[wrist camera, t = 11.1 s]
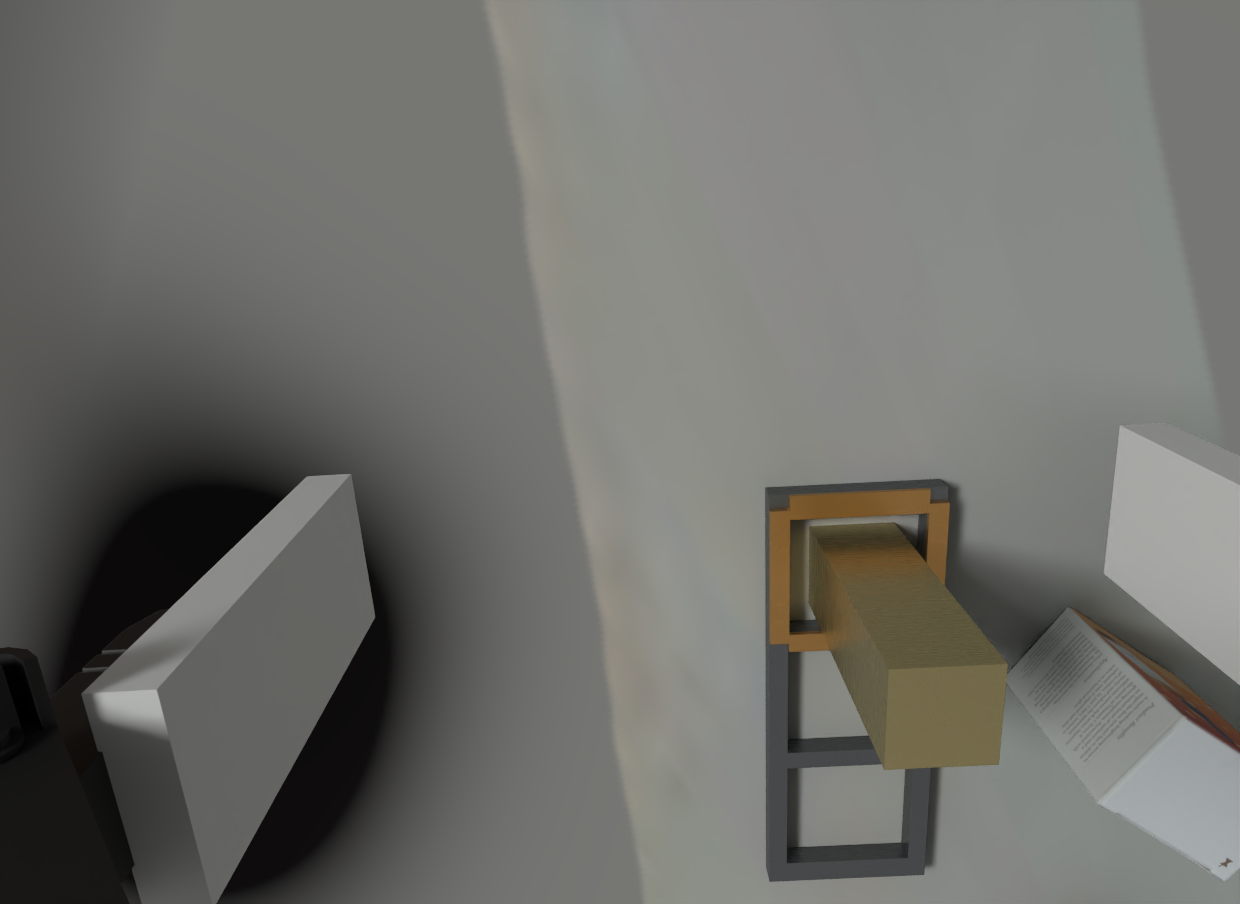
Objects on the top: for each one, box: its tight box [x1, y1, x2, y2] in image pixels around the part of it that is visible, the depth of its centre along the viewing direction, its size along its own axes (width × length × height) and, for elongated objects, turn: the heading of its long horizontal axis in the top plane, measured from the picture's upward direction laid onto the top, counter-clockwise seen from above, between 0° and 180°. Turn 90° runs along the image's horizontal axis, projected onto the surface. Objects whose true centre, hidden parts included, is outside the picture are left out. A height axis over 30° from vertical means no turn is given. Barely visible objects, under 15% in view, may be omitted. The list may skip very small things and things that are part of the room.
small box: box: [1006, 607, 1240, 882], centre depth 44 cm, size 8×6×10 cm
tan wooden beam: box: [808, 523, 1008, 770], centre depth 40 cm, size 4×4×14 cm
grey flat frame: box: [765, 479, 950, 882], centre depth 48 cm, size 24×9×2 cm, turn 3°
